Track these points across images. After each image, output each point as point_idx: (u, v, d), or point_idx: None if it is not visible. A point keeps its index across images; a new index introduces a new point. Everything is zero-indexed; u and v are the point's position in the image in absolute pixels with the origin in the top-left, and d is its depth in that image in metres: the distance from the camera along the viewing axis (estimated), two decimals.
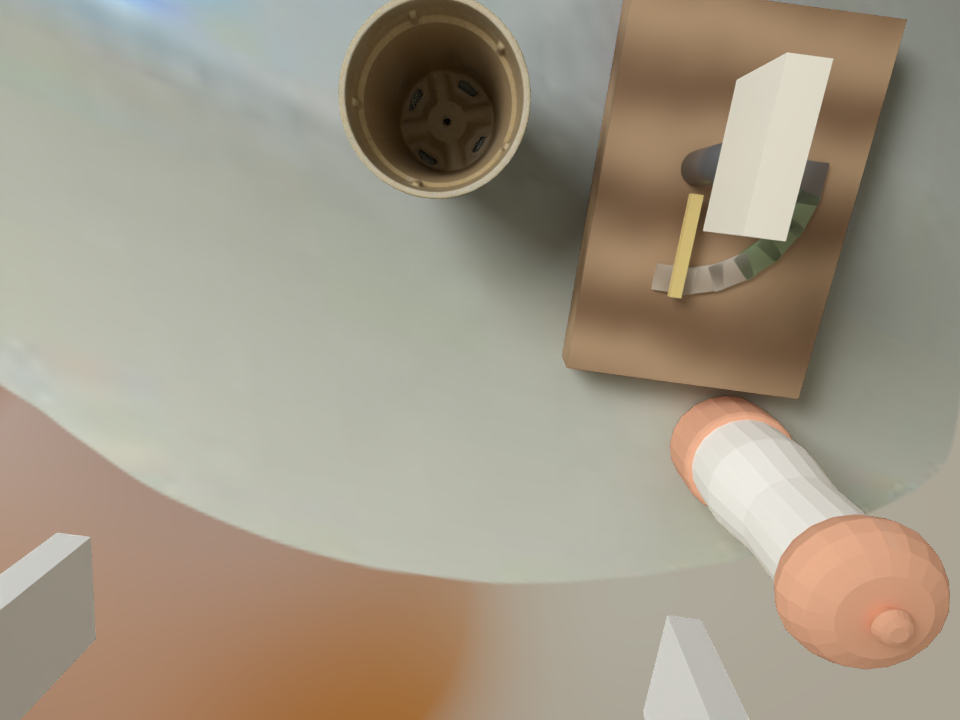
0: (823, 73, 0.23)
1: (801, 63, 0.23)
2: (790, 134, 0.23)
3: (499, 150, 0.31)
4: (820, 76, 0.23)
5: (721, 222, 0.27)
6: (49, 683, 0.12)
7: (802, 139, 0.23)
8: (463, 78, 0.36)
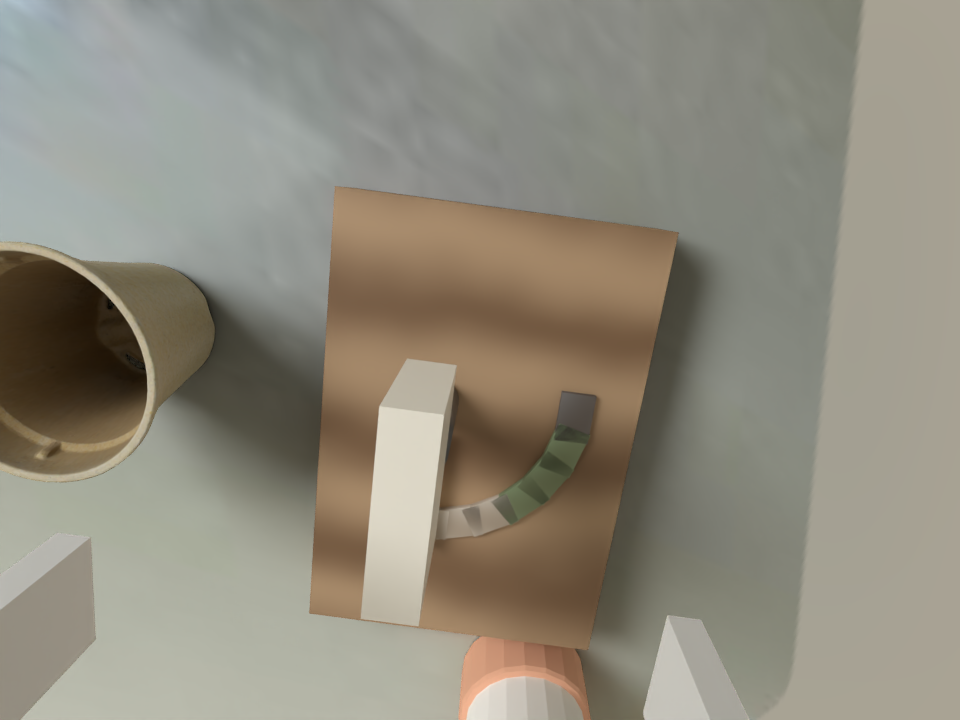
0: (433, 432, 0.16)
1: (401, 420, 0.16)
2: (402, 504, 0.17)
3: None
4: (430, 435, 0.16)
5: None
6: (49, 683, 0.12)
7: (418, 510, 0.17)
8: None
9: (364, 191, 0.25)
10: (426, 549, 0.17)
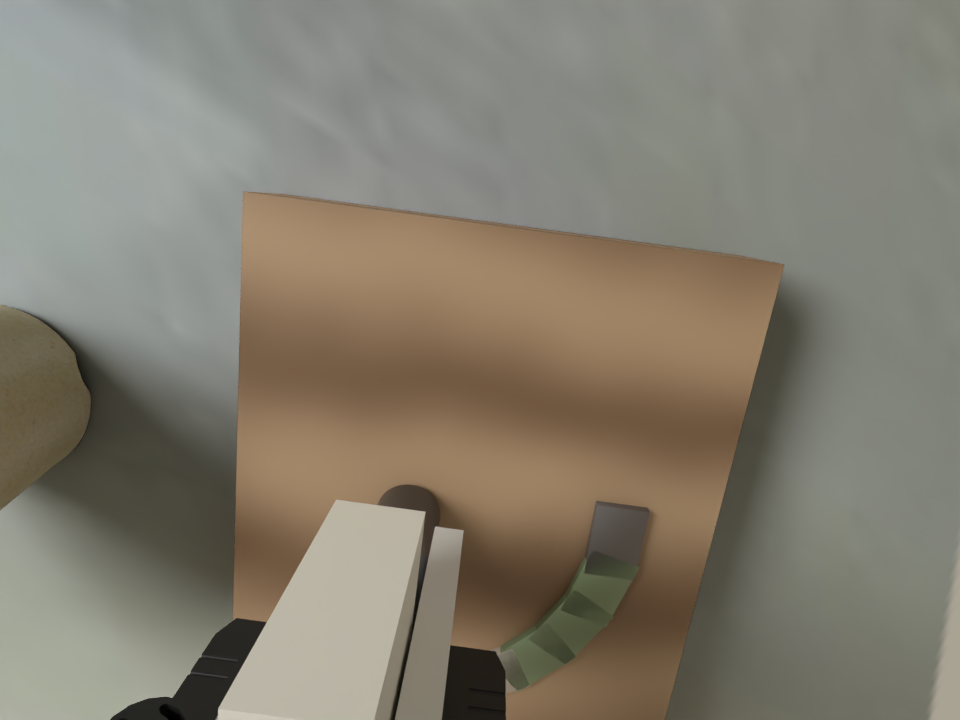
0: None
1: None
2: None
3: None
4: None
5: None
6: None
7: None
8: None
9: (289, 199, 0.16)
10: None
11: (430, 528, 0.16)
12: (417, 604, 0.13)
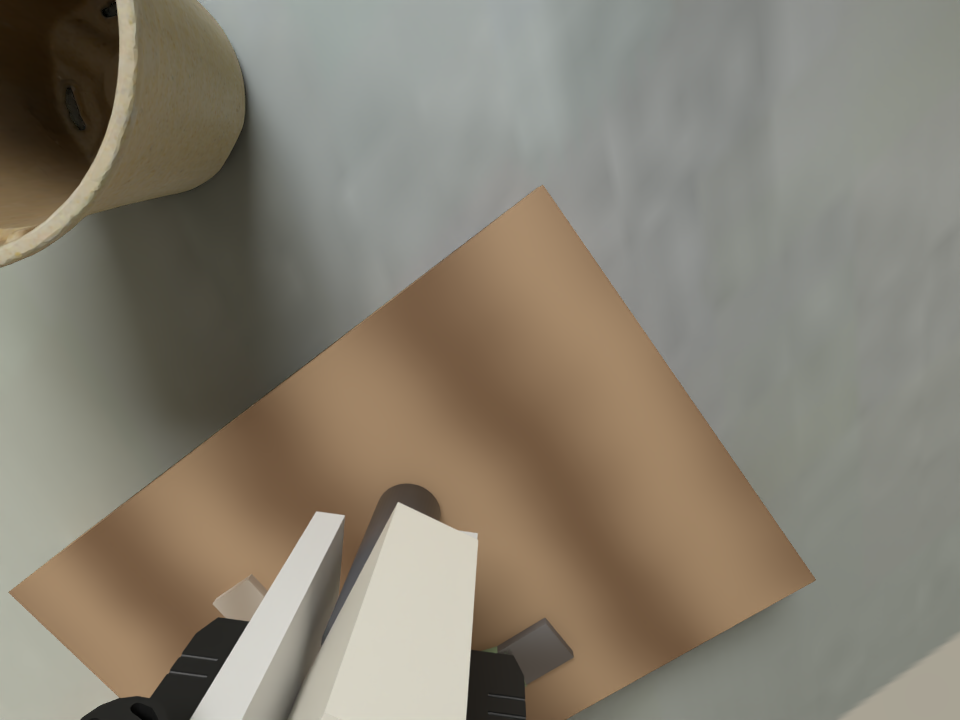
0: None
1: None
2: None
3: None
4: None
5: None
6: None
7: None
8: None
9: (568, 225, 0.16)
10: None
11: None
12: None
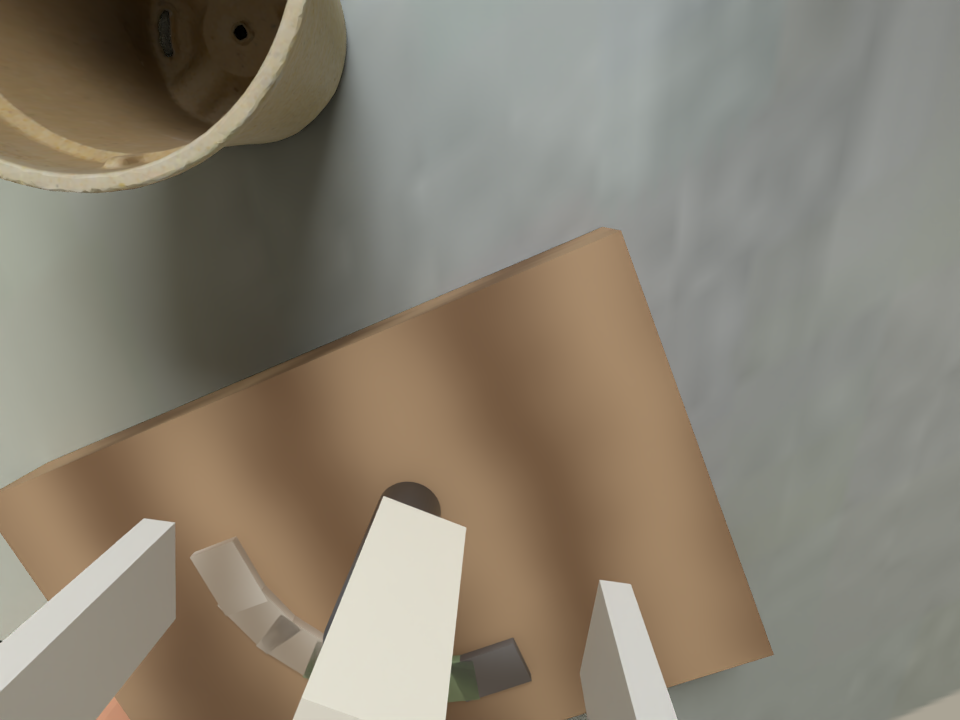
0: None
1: None
2: None
3: (124, 154, 0.12)
4: None
5: None
6: (141, 657, 0.13)
7: None
8: None
9: (634, 274, 0.16)
10: None
11: None
12: None
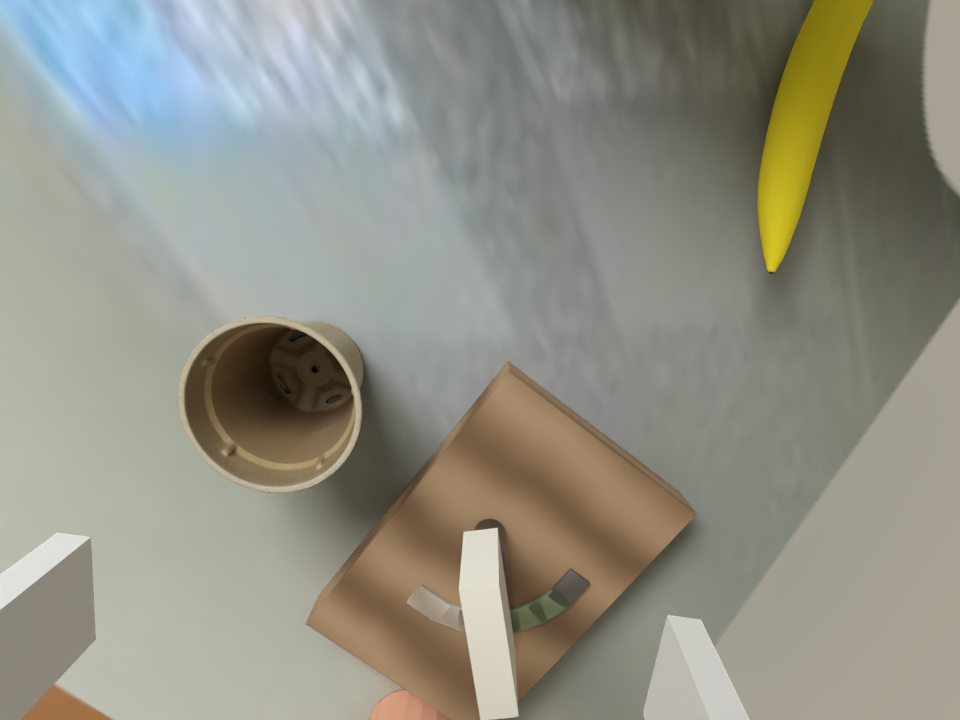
0: (495, 596, 0.26)
1: (474, 594, 0.26)
2: (488, 643, 0.26)
3: (316, 458, 0.32)
4: (494, 599, 0.26)
5: None
6: (49, 683, 0.12)
7: (499, 644, 0.26)
8: None
9: (525, 385, 0.35)
10: (510, 667, 0.27)
11: (501, 536, 0.35)
12: (504, 567, 0.32)
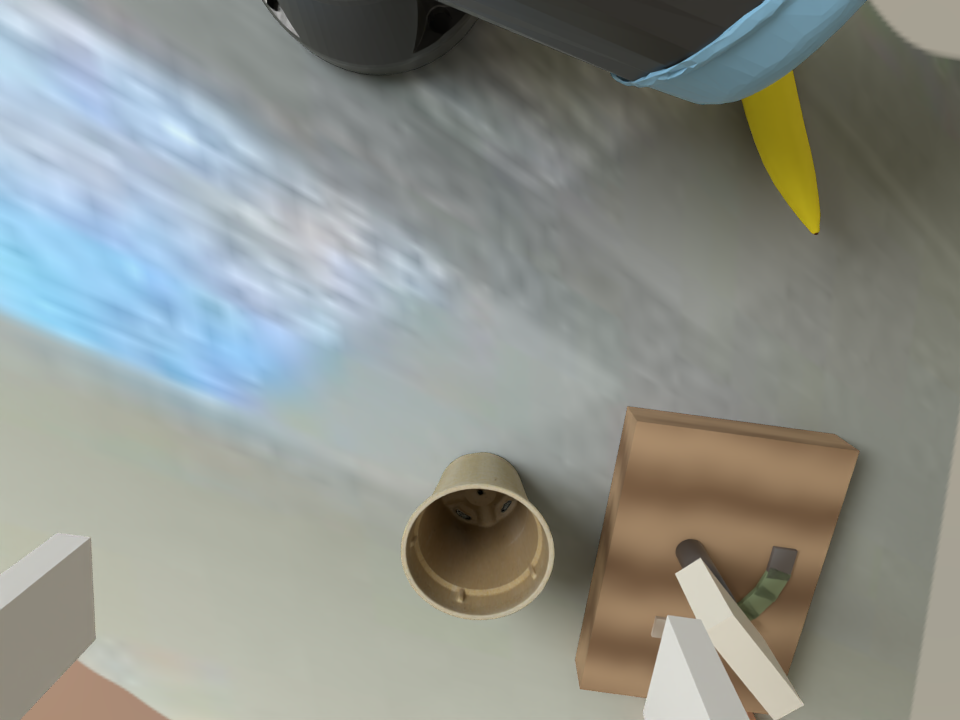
0: (734, 624, 0.30)
1: (716, 630, 0.30)
2: (748, 661, 0.30)
3: (527, 569, 0.38)
4: (734, 627, 0.30)
5: None
6: (49, 683, 0.12)
7: (757, 658, 0.30)
8: None
9: (655, 424, 0.39)
10: (776, 671, 0.31)
11: (702, 552, 0.39)
12: (721, 581, 0.36)
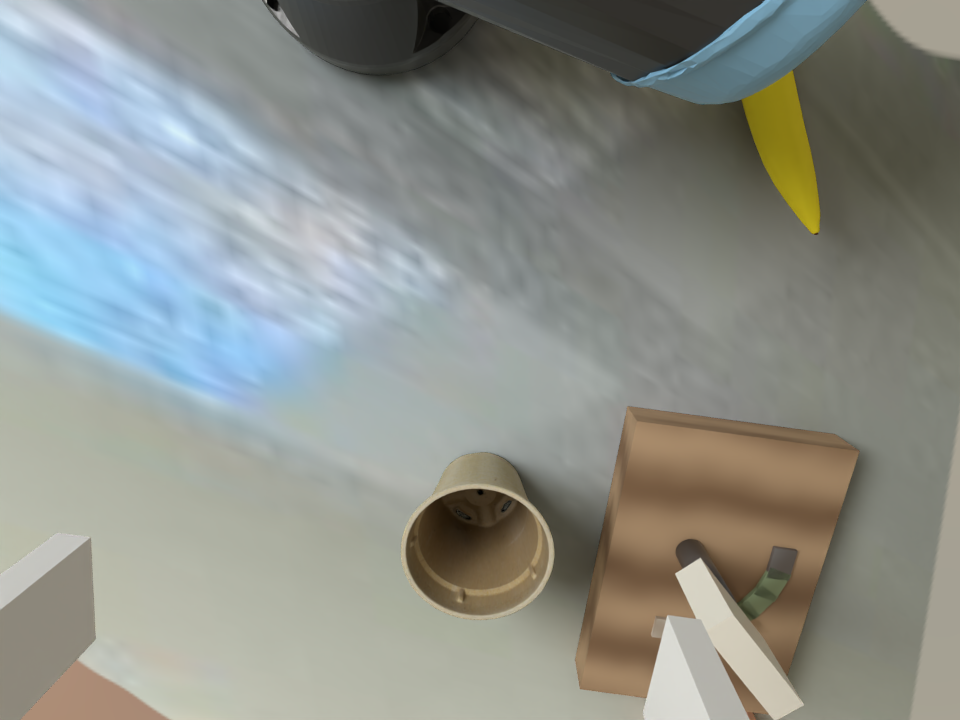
0: (734, 624, 0.30)
1: (717, 630, 0.30)
2: (748, 661, 0.30)
3: (527, 569, 0.38)
4: (734, 626, 0.30)
5: None
6: (49, 683, 0.12)
7: (757, 658, 0.30)
8: None
9: (655, 424, 0.39)
10: (776, 671, 0.31)
11: (702, 552, 0.39)
12: (721, 581, 0.36)
